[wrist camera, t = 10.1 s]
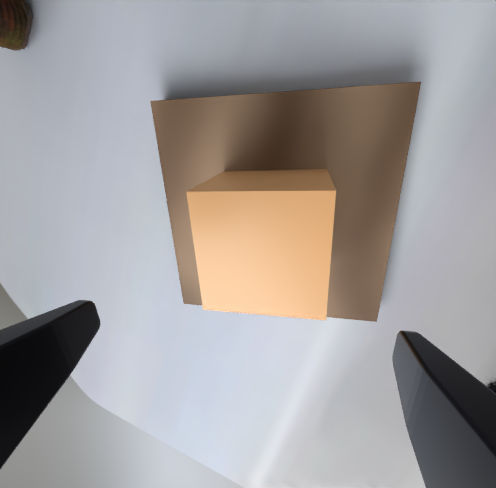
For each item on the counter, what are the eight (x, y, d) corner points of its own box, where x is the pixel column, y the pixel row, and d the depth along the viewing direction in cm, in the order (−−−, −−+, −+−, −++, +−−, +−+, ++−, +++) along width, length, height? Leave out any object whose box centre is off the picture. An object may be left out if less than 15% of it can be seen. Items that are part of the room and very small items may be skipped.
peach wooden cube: (326, 169, 15) (336, 190, 10) (320, 264, 17) (325, 320, 12) (223, 171, 16) (186, 191, 11) (231, 260, 18) (203, 309, 14)
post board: (410, 86, 14) (458, 66, 9) (371, 308, 19) (391, 362, 15) (163, 102, 17) (110, 94, 12) (191, 292, 22) (161, 335, 18)
